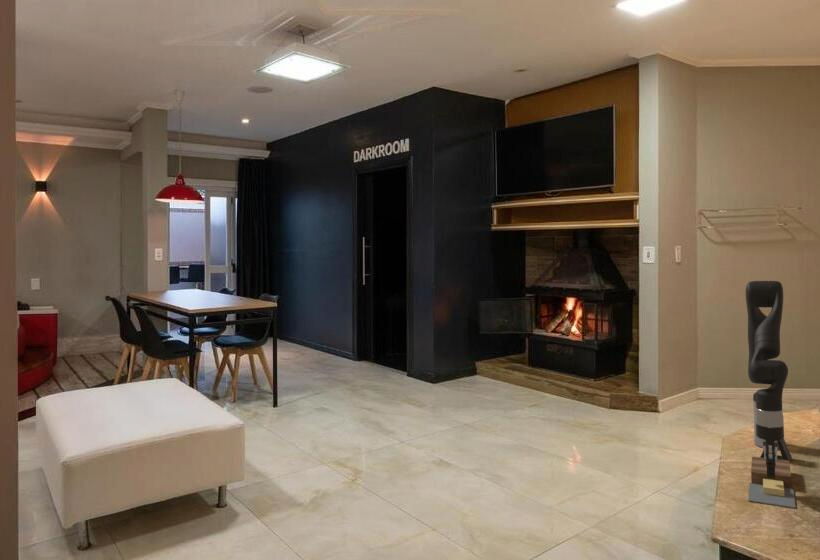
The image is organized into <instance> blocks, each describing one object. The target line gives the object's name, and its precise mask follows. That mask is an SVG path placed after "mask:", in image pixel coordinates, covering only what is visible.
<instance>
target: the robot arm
mask: <svg viewBox="0 0 820 560" xmlns="http://www.w3.org/2000/svg"><path fill="white" fill-rule="evenodd" d="M745 303H746V308H747V309H746V310H747V345H748V364H747V365H748V366H747V367H748V368H747V375H748V379H749V380H750V382H751V383H753V384H759V385H770V386H769V387H768V388H761V389H758V390H757V391H756V392H753V395H752V396H753V397H752V398H753V399H752V401H753V428H754V429H753V431H754V432H753V434H754V435H753V436H754V437H753V438H754V439H753V440H754V445H756V446H757V447H759V448H762V450H764V458H765V459H766V466H767V477H768V478H775V466H776V462H775V460H777V455H778V451H779V446H778V443H777V441H780V440H783V439H784V440H785V423H784V413H783V391H784V388H785V383H786V381H787V378H788V374H789V367H788V365H787V363H785V362H784V361H783V360H778V359H777V360H776V358H778V357H779V356H780V354H781V338H780V337H781V335H780V333H781V332H780V331H781V324H782V317H783V309H784V308H783V307H784V287H783V284H782V282H781V281H779V280H751V281H749V282H747V284H746V287H745ZM760 308H771V310H770V311H769V314H768V315H766V314H765V313H764V312H762V310H761V309H760Z"/></svg>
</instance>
